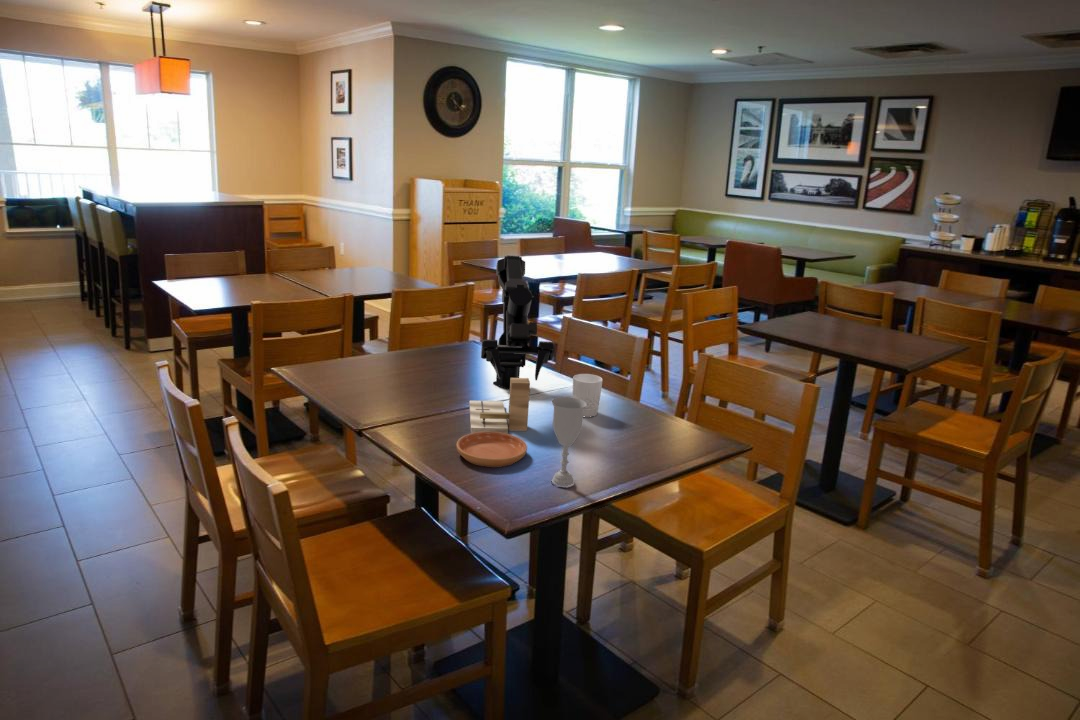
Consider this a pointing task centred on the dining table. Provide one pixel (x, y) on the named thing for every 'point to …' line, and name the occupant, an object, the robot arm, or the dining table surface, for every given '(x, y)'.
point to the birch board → (487, 424)
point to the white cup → (588, 392)
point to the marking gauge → (515, 406)
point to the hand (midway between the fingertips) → (518, 379)
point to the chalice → (566, 431)
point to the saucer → (491, 448)
